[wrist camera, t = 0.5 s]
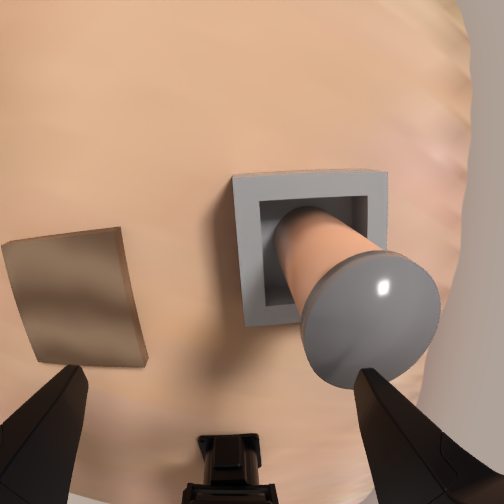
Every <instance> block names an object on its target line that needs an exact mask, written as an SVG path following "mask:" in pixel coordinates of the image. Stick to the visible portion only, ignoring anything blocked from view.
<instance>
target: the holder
mask: <svg viewBox="0 0 504 504" xmlns="http://www.w3.org/2000/svg"><path fill="white" fill-rule="evenodd" d="M232 181H233V194H234V207H235V219H236V231H237V243H238V255H239V266H240V278H241V289H242V300H243V311H244V322H245V327H257V326H268V325H279V324H289V323H298V322H300V320H301V317H300V314H299V312H298V309H297V306H296V304H295V301H294V299H293V296H292V294H291V291H290V288H289V286H288V283H287V281H286V278H285V276H284V273H283V271H282V268H281V265H280V263H279V260H278V258H277V255H276V253H275V250H274V245H273V237H274V232H275V229H276V227H277V225H278V223H279V221H280V220H281V219H282V218H283V217H284V216H285V215H286V214H287V213H288V212H290V211H292V210H293V209H296V208H299V207H303V206H313V207H318V208H320V209H323V210H324V211H326V212H328V213H329V214H331V215H332V216H334V217H335V218H337V219H338V220H340V221H341V222H343V223H344V224H346V225H347V226H349V227H350V228H352V229H353V230H355V231H356V232H358V233H359V234H361V235H362V236H364V237H365V238H367V239H368V240H370V241H371V242H372V243H374V244H375V245H377V246H378V247H380V248H381V249H382V250H387V226H388V172H383V171H376V170H369V169H329V170H301V171H280V172H264V173H249V174H236V175H233V177H232Z"/></svg>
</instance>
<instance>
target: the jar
mask: <svg viewBox="0 0 504 504" xmlns="http://www.w3.org/2000/svg"><path fill="white" fill-rule="evenodd" d="M273 245H274V250H275V253H276V255H277V258H278V260H279V263H280V265H281V268H282V271H283V273H284V276H285V278H286V281H287V283H288V286H289V288H290V291H291V294H292V296H293V299H294V301H295V304H296V306H297V309H298V312H299V314H300V317H301V320H300V335H301V340H302V344H303V347H304V350H305V353H306V356H307V359H308V361H309V363H310V366H311V367H312V369H313V370H314V372H315V373H316V374H317V375H318V376H319V377H320V378H321V379H323V380H324V381H325V382H327V383H329V384H331V385H333V386H336V387H339V388H344V389H353V390H354V383H355V380H356V378H357V375H358V373H359V370H360V369H361V368H368V367H372V368H374V369H375V370H376V371H377V372H378V373H380V374H381V375H382V376H383V377H384V378H385V379H386V380H387V381H388V382H389V381H391V380H393V379H395V378H396V377H398V376H400V375H401V374H403V373H404V372H405V371H407V370H408V369H409V368H410V367H411V366H413V365H414V364H415V363H416V362H417V361H418V359H419V358H420V357H421V356H422V355H423V353H424V352H425V351H426V349H427V348H428V346H429V345H430V343H431V341H432V339H433V337H434V335H435V332H436V330H437V327H438V323H439V319H440V312H441V303H440V295H439V292H438V288H437V286H436V284H435V282H434V280H433V279H432V277H431V276H430V275H429V274H428V273H427V271H426V270H424V269H423V268H422V267H420V266H419V265H417V264H416V263H414V262H413V261H411V260H410V259H408V258H407V257H405V256H403V255H401V254H399V253H396V252H392V251H386V250H382V249H381V248H380V247H378V246H377V245H375V244H374V243H372V242H371V241H370V240H368V239H367V238H365V237H364V236H362V235H361V234H359V233H358V232H356V231H355V230H353V229H352V228H350V227H349V226H347V225H346V224H344V223H343V222H341V221H340V220H338V219H337V218H335V217H334V216H332V215H331V214H329V213H328V212H326V211H324V210H323V209H320V208H318V207H313V206H303V207H299V208H296V209H293V210H292V211H290V212H288V213H287V214H286V215H285V216H284V217H283V218H282V219H281V220H280V221H279V223H278V225H277V227H276V229H275V232H274V237H273Z"/></svg>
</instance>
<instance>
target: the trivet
mask: <svg viewBox="0 0 504 504" xmlns="http://www.w3.org/2000/svg"><path fill="white" fill-rule="evenodd" d="M1 249H2V253H3V257H4V262H5V266H6V270H7V273H8V277H9V281H10V284H11V288H12V291H13V294H14V298H15V301H16V304H17V307H18V310H19V313H20V316H21V319H22V322H23V325H24V327H25V330H26V333H27V336H28V338H29V341H30V343H31V346H32V348H33V351H34V353H35V356H36V358H37V360H38V362H44V363H55V364H67V365H68V364H75V365H83V366H103V367H145V366H146V363H147V361H148V358H149V357H148V354H147V350H146V346H145V343H144V339H143V335H142V331H141V327H140V323H139V319H138V314H137V310H136V306H135V301H134V297H133V292H132V288H131V283H130V278H129V273H128V268H127V262H126V257H125V251H124V246H123V240H122V234H121V227H113V228H105V229H96V230H88V231H80V232H72V233H65V234H57V235H50V236H42V237H35V238H28V239H21V240H15V241H9V242H7V243H5V244H3V245H1Z"/></svg>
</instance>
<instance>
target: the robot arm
mask: <svg viewBox="0 0 504 504" xmlns="http://www.w3.org/2000/svg"><path fill="white" fill-rule="evenodd" d="M87 393H88V380H87V378H86V376H85V374H84V372H83V370H82V368H81V366H80V365H75V364H68V365H67V366H66V367H64V368H63V369H62V370H61V371H60V372H59V373H58V374H56V375H55V376H54V377H53V378H52V379H51V380H50V381H49V382H47V383H46V384H45V385H44V386H43V387H42V388H41V389H40V390H38V391H37V392H36V393H35V394H34V395H33V396H32V397H31V398H30V399H28V400H27V401H26V402H25V403H24V404H23V405H22V406H21V407H20V408H19V409H17V410H16V411H15V412H14V413H13V414H12V415H11V416H10V417H9V418H8V419H6V420H5V421H4V422H3V425H2V424H1V425H0V504H67V500H68V494H69V488H70V483H71V478H72V472H73V467H74V462H75V458H76V453H77V448H78V444H79V440H80V435H81V431H82V427H83V421H84V413H85V406H86V399H87ZM354 396H355V402H356V408H357V415H358V422H359V428H360V432H361V436H362V440H363V444H364V447H365V451H366V455H367V459H368V463H369V466H370V470H371V474H372V478H373V482H374V486H375V490H376V494H377V499H378V503H379V504H504V475H502V474H499V473H497V472H495V471H493V470H492V469H490V468H489V467H487V466H486V465H485V464H483V463H481V462H480V461H479V460H478V459H476V458H475V457H473V456H472V455H471V454H469V453H468V452H467V451H465V450H464V449H463V448H461V447H460V446H459V445H458V444H457V443H455V442H454V441H453V440H452V439H451V438H450V437H449V436H447V435H446V434H445V433H444V432H442V430H441V429H440V428H438V427H437V426H436V425H435V424H434V423H433V422H432V421H431V420H430V419H429V418H428V417H427V416H425V415H424V414H423V413H422V412H421V411H420V410H419V409H418V408H417V407H416V406H414V405H413V404H412V403H411V402H410V401H409V400H408V399H407V398H406V397H405V396H404V395H402V394H401V393H400V392H399V391H398V390H397V389H396V388H395V387H394V386H393V385H392V384H390V383H389V382H388V381H387V380H386V379H385V378H384V377H383V376H382V375H381V374H380V373H378V372H377V371H376V370H375V369H374V368H372V367H368V368H361V369H360V370H359V373H358V375H357V378H356V380H355V383H354ZM198 443H199V446H200V449H201V453H202V456H203V459H204V462H205V468H204V483H203V484H193V483H188V484H187V489H186V488H185V490H184V491H183V497H182V503H181V504H279V503H278V498H277V493H276V488H275V484H269V485H259V476H258V468H260V467H261V466H262V465H261V455H260V444H259V436H258V434H240V435H219V436H200V437H199V438H198Z"/></svg>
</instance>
